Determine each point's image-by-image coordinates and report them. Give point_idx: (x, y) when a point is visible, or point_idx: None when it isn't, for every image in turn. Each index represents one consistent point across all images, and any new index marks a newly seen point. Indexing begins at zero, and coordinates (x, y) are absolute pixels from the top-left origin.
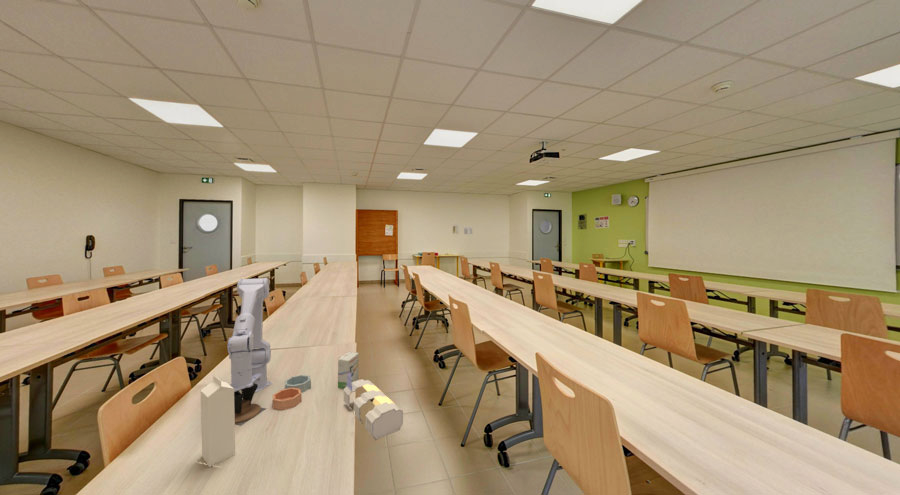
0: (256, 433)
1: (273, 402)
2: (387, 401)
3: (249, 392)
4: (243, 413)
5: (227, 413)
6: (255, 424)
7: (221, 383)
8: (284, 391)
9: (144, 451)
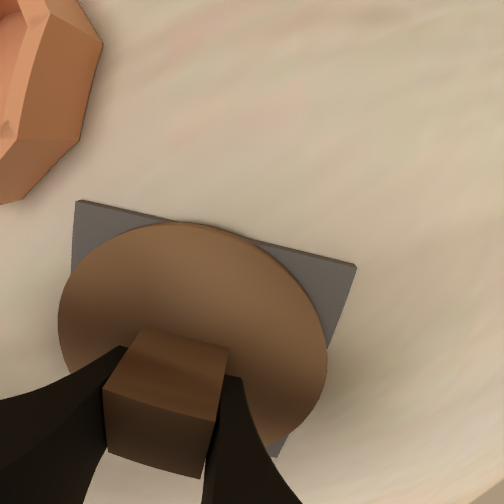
0: (437, 74)
1: (36, 131)
2: None
3: (53, 459)
4: (211, 347)
5: None
6: (320, 149)
7: None
8: None
9: (445, 497)
